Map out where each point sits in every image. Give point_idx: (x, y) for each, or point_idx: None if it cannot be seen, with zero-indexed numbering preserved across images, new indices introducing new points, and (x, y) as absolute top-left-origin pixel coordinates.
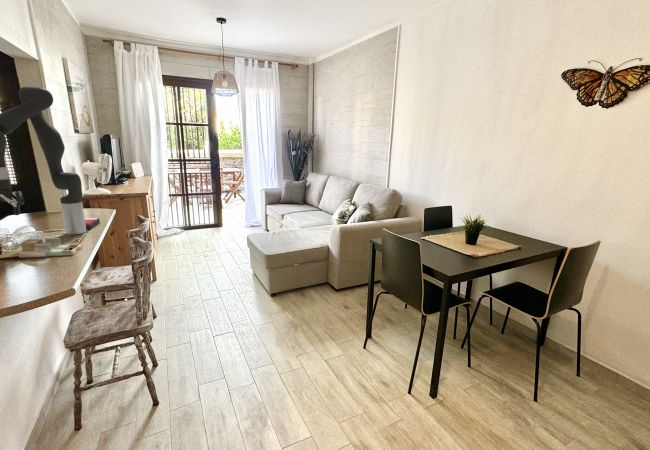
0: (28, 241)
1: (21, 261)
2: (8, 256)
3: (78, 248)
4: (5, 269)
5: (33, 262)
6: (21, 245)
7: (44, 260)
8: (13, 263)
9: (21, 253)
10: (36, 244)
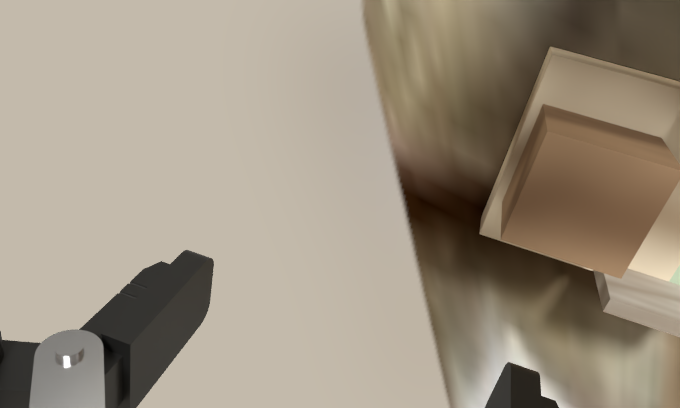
0: (557, 215)
1: (505, 303)
2: (408, 150)
3: None
4: (446, 393)
5: (575, 357)
6: (502, 228)
7: (639, 354)
8: (466, 317)
9: (499, 238)
10: (622, 305)
